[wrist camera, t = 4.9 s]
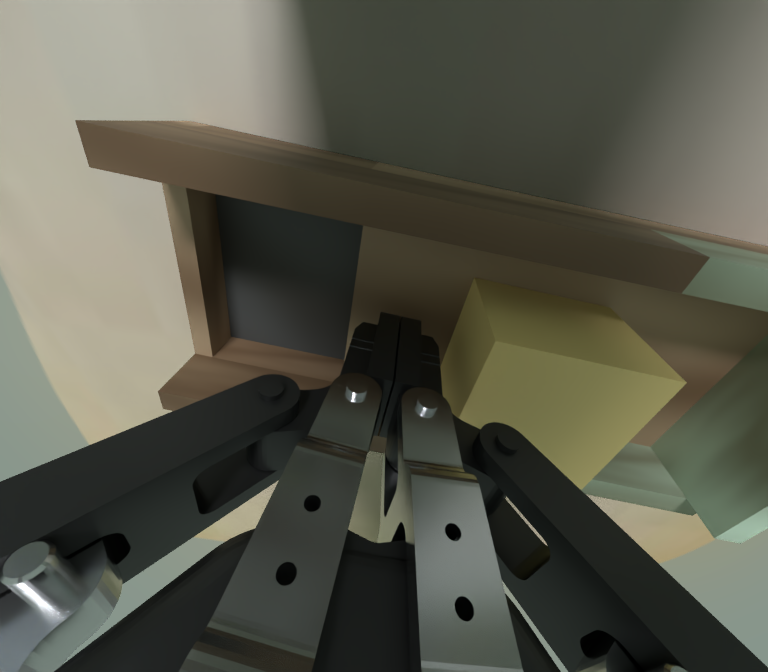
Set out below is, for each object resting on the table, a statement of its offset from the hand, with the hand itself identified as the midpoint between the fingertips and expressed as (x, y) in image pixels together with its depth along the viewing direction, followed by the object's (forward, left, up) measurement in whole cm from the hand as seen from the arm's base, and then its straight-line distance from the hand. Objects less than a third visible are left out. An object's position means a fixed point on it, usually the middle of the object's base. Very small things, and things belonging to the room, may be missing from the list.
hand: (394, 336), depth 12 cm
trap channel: (0, +3, -3) cm, 4 cm away
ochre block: (0, +5, -1) cm, 5 cm away
